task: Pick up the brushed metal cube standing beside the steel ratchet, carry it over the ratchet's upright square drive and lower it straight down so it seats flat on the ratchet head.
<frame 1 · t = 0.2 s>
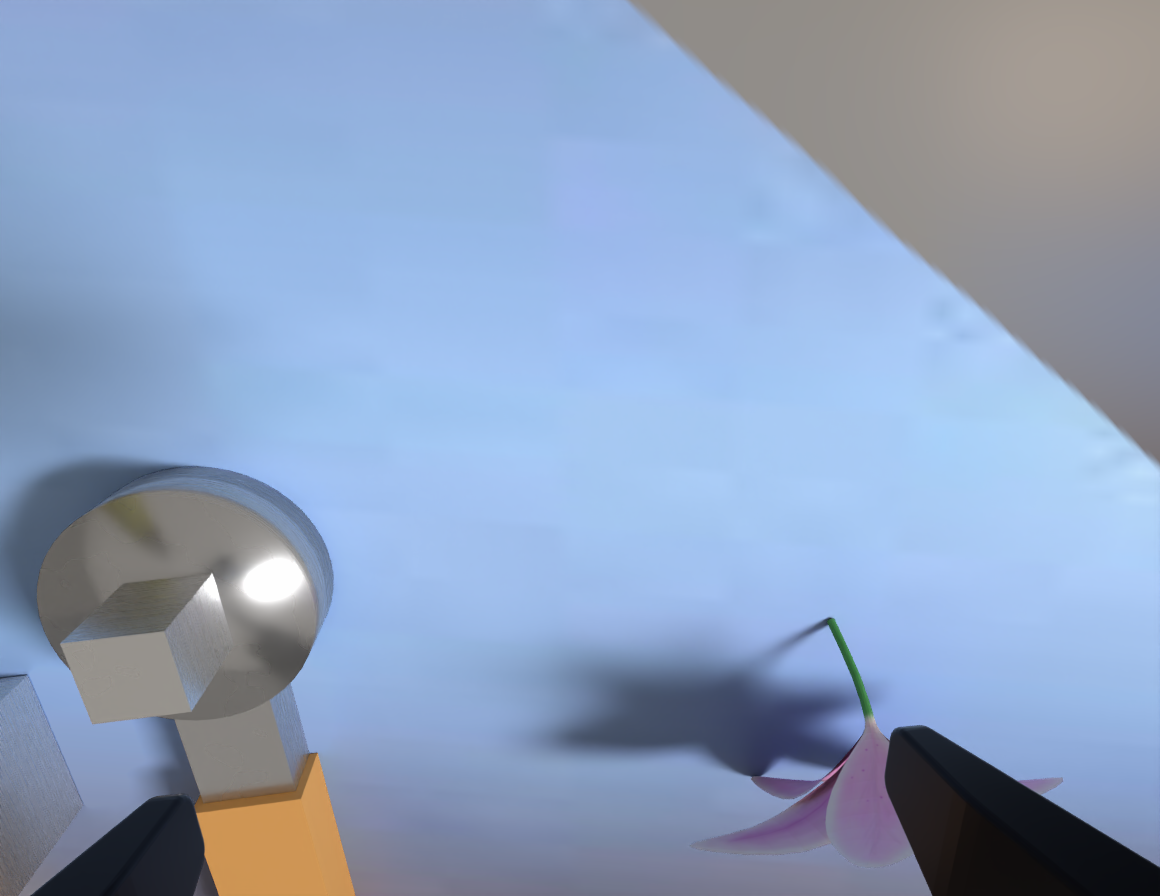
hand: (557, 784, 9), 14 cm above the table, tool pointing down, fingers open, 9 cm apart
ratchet: (212, 575, 23), on the table
lily: (822, 703, 28), on the table
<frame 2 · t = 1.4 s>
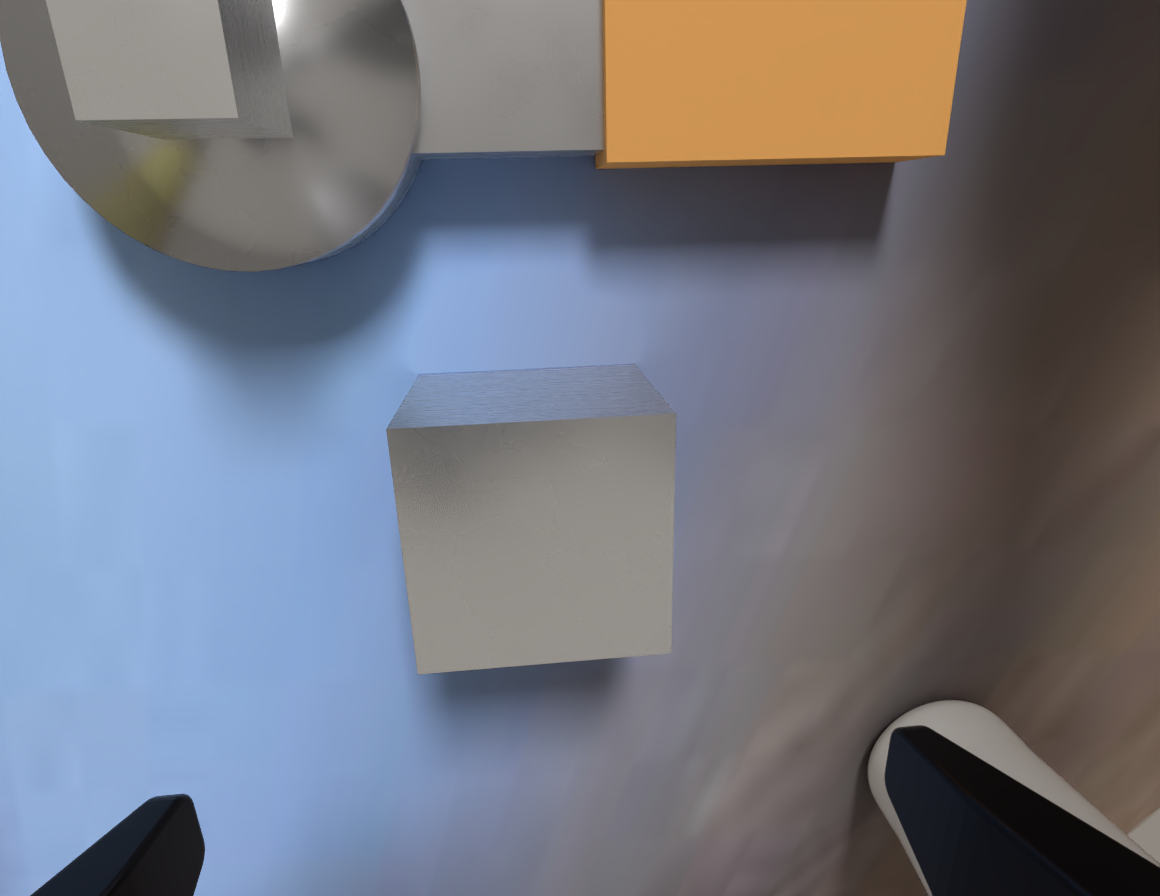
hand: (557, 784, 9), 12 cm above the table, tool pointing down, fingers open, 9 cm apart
brushed metal cube: (533, 470, 20), on the table
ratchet: (258, 89, 16), on the table
drinking glass: (926, 747, 25), on the table
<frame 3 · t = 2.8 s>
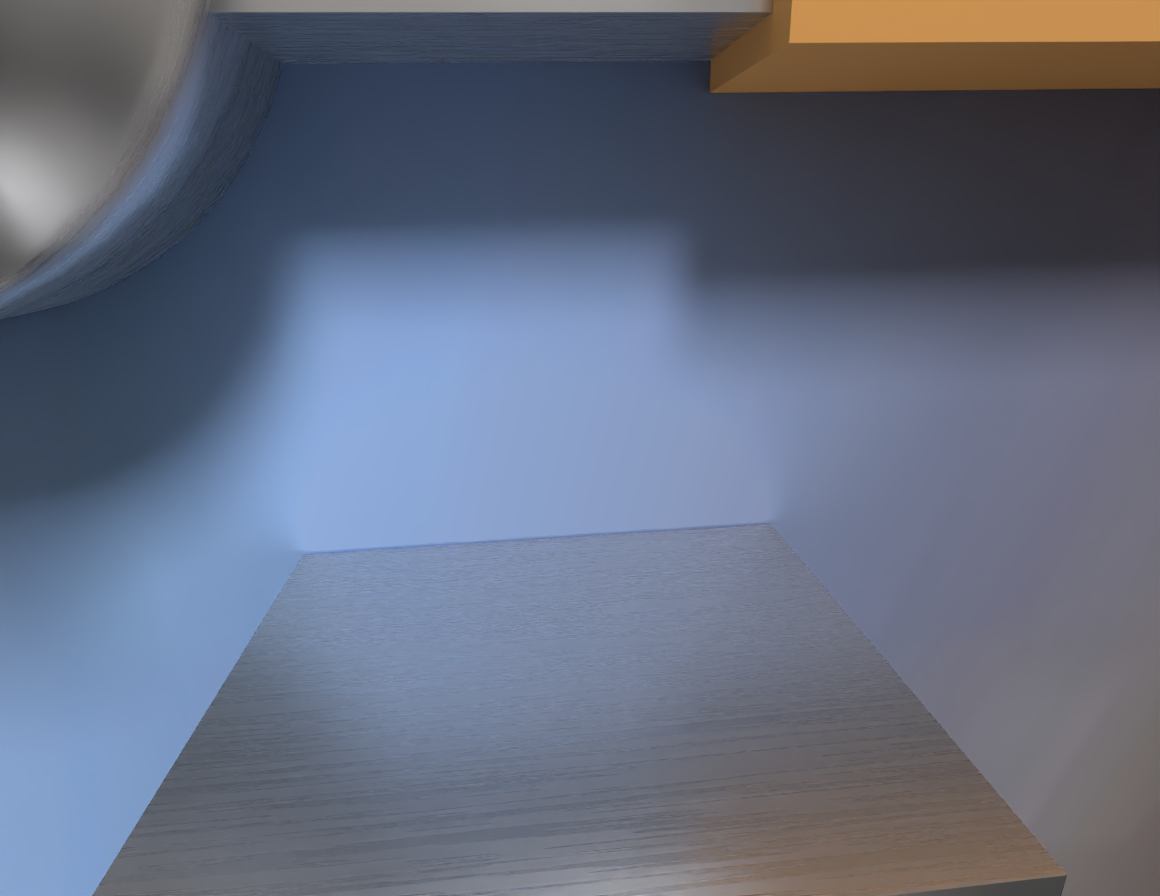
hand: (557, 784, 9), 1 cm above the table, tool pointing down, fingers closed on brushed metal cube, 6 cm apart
brushed metal cube: (552, 727, 10), on the table, touching gripper
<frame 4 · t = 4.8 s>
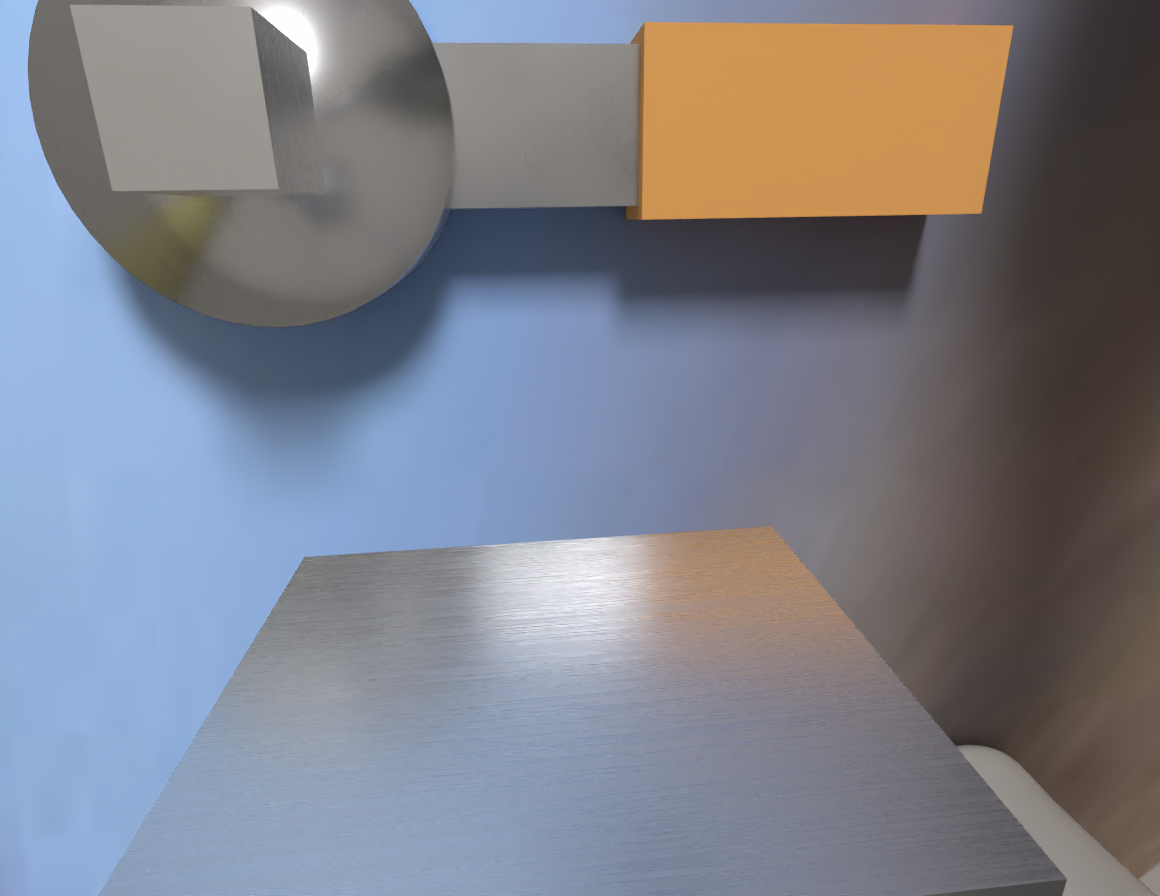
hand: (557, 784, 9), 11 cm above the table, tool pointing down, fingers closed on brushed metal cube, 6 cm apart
brushed metal cube: (553, 729, 10), point 10 cm above the table, touching gripper
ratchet: (287, 139, 16), on the table
drinking glass: (944, 790, 25), on the table
when the fingers open (5 cm above the table, at t = 6.9 s): brushed metal cube drops 1 cm, resting on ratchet.
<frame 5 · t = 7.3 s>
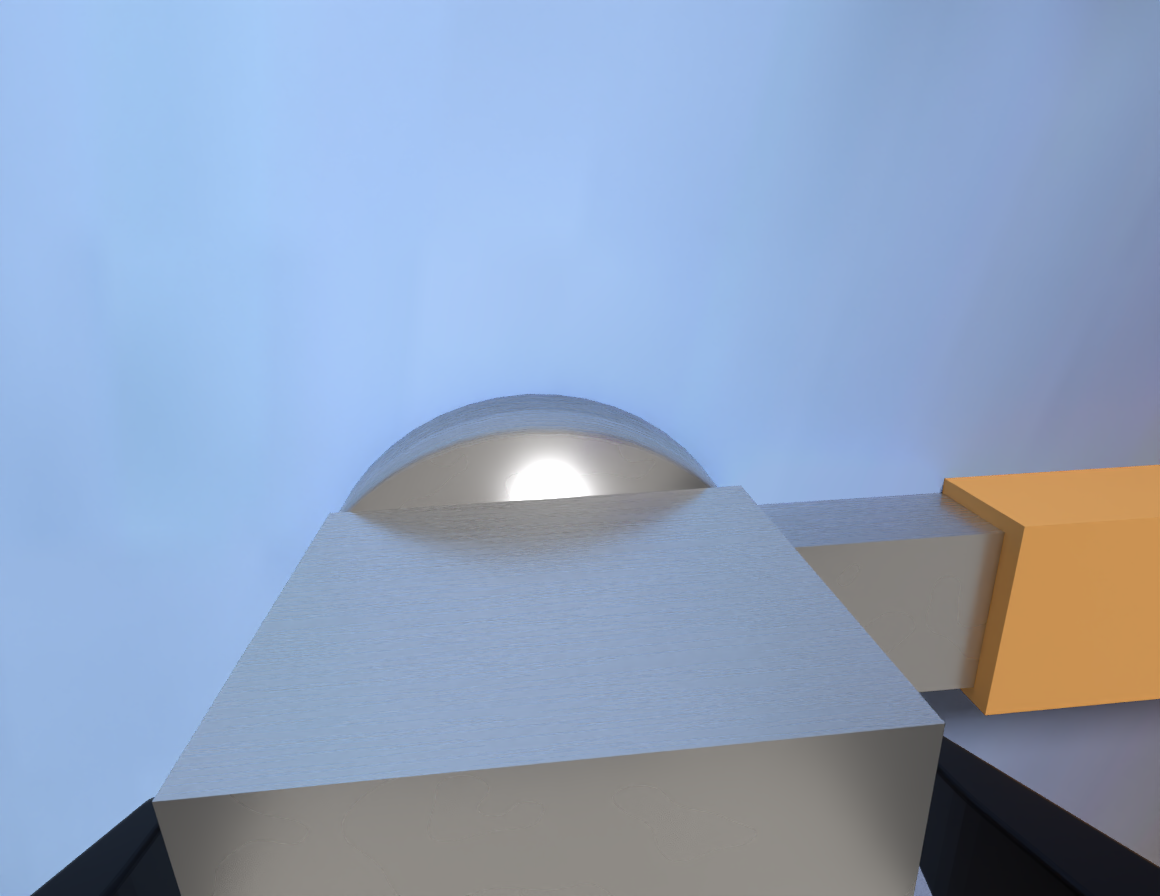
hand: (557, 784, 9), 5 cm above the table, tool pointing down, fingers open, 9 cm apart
brushed metal cube: (549, 670, 11), point 2 cm above the table, touching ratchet
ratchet: (537, 593, 13), on the table, touching brushed metal cube
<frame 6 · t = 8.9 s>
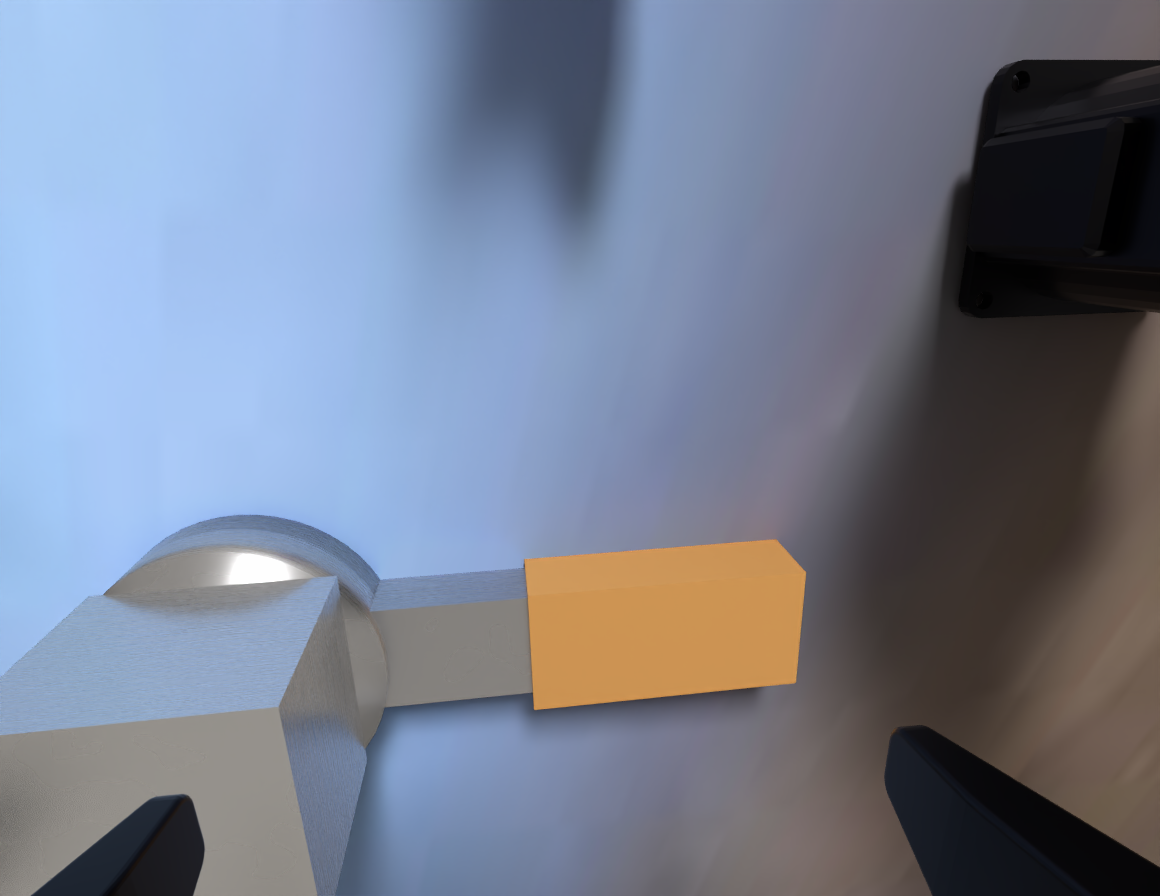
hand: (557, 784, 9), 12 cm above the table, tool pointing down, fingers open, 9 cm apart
brushed metal cube: (237, 684, 18), point 2 cm above the table, touching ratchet
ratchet: (262, 635, 20), on the table, touching brushed metal cube
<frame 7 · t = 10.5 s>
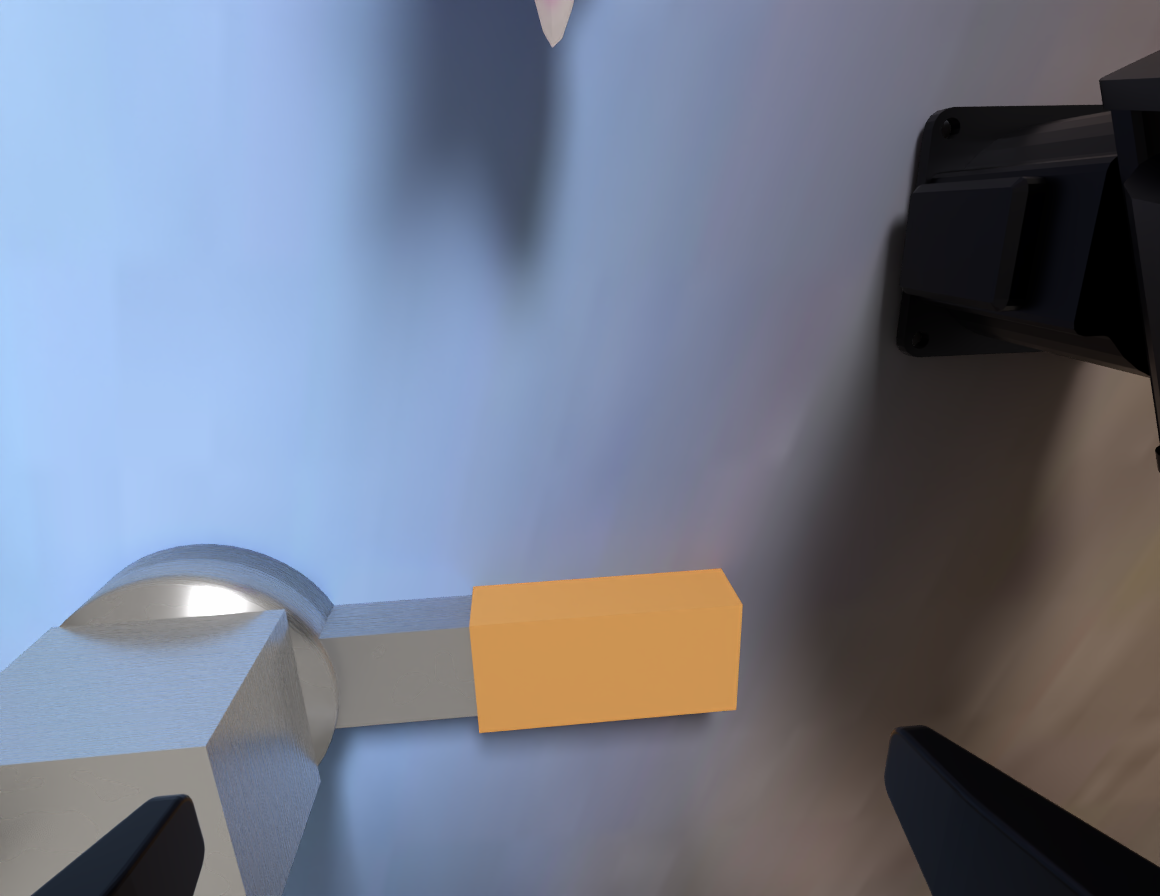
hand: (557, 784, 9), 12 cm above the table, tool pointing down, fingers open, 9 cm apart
brushed metal cube: (194, 709, 19), point 2 cm above the table, touching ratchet
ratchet: (223, 657, 21), on the table, touching brushed metal cube
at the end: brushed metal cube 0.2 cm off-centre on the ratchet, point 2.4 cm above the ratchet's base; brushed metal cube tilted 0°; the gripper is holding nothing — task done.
